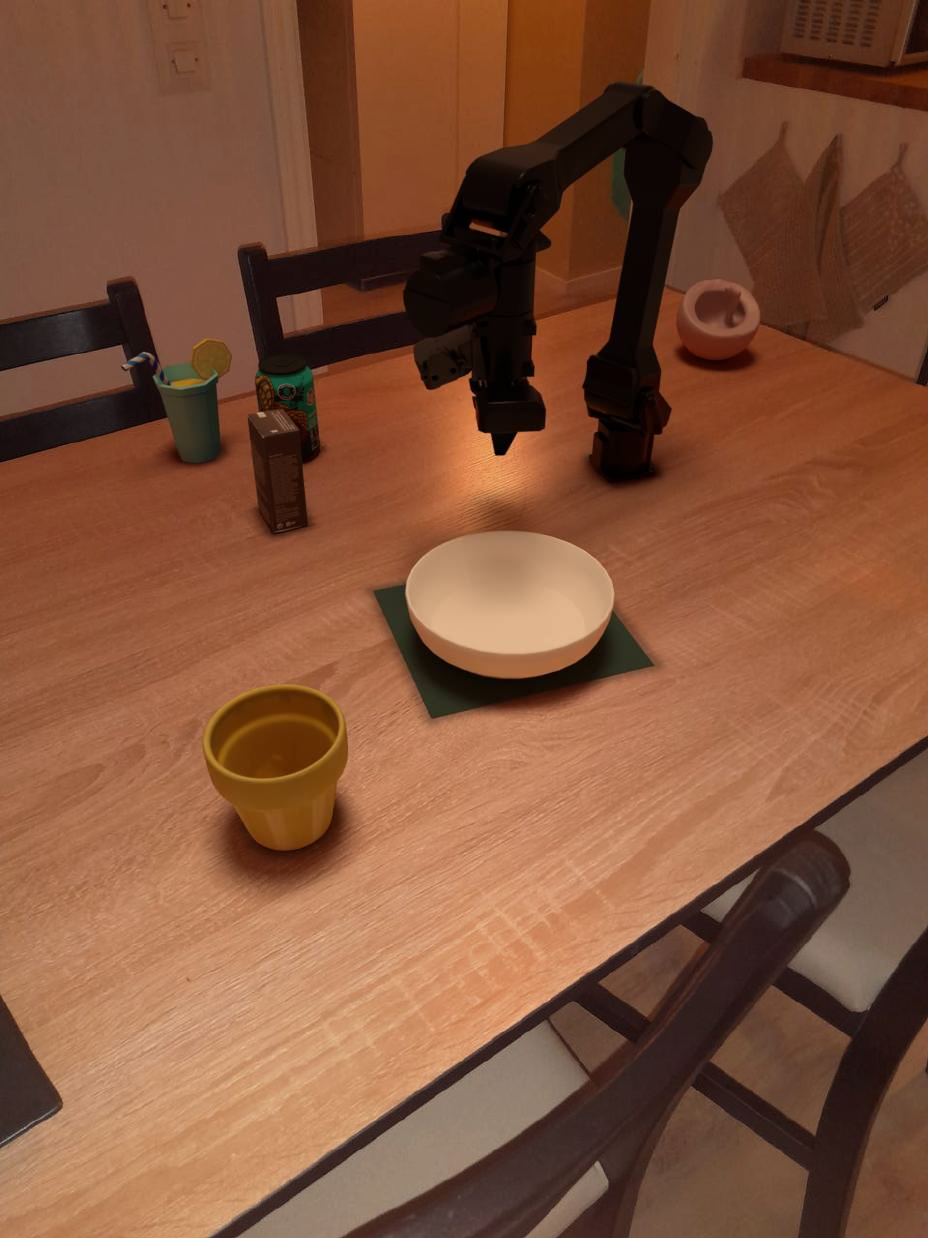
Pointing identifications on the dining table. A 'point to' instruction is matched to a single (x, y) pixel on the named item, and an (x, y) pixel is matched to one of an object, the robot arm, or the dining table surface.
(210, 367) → the cup
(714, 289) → the mortar and pestle
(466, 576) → the bowl
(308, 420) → the green cylinder
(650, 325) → the robot arm
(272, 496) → the box
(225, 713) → the flower pot
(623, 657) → the mat
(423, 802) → the dining table surface
